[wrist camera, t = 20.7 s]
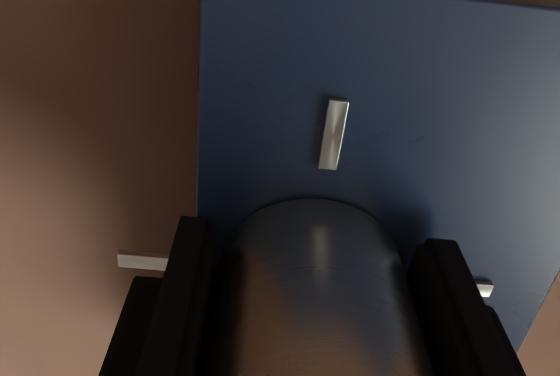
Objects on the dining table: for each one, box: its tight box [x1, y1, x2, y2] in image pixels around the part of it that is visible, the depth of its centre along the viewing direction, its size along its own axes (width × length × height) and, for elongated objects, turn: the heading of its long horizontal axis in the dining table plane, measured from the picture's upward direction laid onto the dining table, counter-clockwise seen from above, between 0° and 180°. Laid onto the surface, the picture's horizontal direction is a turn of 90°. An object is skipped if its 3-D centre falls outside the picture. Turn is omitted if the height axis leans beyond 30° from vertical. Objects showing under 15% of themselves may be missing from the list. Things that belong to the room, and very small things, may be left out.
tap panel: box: [117, 0, 560, 353], centre depth 13 cm, size 12×10×3 cm
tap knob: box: [198, 198, 435, 376], centre depth 9 cm, size 4×4×5 cm
